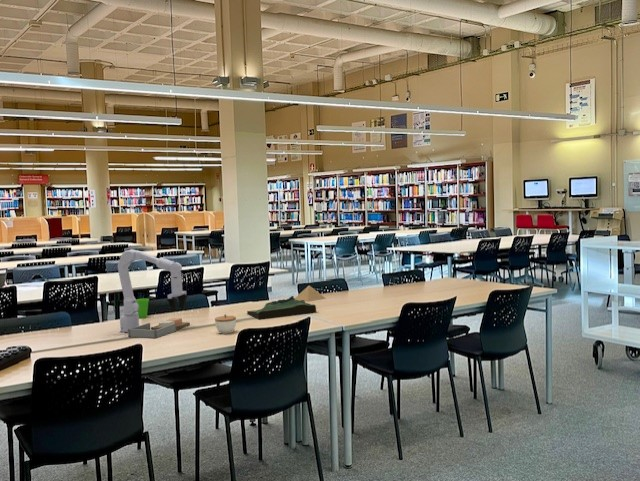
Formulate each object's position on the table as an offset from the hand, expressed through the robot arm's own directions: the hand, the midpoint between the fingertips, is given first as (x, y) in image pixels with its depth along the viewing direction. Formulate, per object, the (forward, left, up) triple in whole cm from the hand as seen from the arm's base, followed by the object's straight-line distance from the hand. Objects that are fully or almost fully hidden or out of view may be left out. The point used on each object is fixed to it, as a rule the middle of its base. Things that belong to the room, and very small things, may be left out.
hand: (178, 309), depth 327 cm
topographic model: (+39, +50, -11) cm, 64 cm away
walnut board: (-6, +1, -10) cm, 12 cm away
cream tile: (-6, -3, -9) cm, 11 cm away
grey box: (-6, -15, -10) cm, 19 cm away
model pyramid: (+35, +104, -11) cm, 110 cm away
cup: (-43, +25, -10) cm, 51 cm away
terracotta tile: (-6, +4, -9) cm, 11 cm away
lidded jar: (+32, -5, -10) cm, 34 cm away
